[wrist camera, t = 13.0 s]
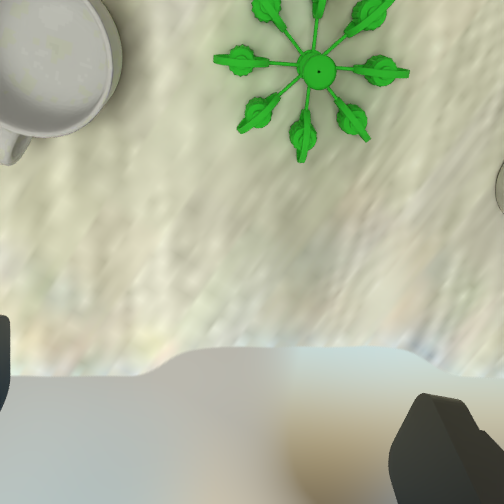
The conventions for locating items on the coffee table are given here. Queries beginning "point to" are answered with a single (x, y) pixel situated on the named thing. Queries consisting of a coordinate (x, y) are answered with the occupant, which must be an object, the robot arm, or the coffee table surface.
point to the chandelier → (314, 72)
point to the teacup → (53, 69)
